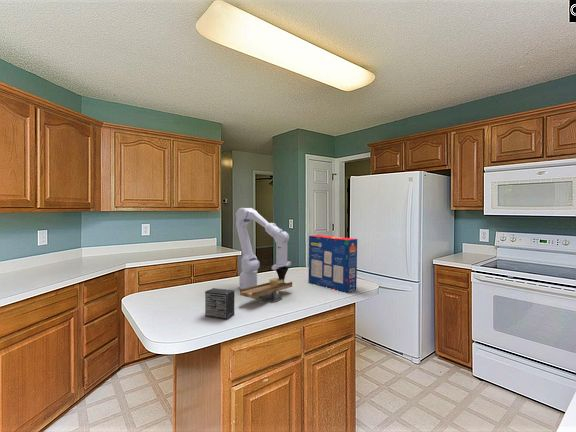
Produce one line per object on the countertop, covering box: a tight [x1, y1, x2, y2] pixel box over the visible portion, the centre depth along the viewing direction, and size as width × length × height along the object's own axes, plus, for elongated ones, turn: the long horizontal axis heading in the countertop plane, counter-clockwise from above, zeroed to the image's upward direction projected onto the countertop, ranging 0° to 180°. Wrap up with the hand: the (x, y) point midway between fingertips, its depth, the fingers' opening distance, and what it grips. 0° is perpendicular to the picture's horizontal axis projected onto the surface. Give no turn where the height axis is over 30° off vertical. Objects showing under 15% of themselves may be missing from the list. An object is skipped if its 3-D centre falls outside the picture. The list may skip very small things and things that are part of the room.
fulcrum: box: [253, 290, 283, 304], centre depth 147 cm, size 12×7×5 cm, turn 56°
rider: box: [268, 277, 285, 286], centre depth 153 cm, size 5×6×3 cm
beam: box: [239, 281, 293, 299], centre depth 147 cm, size 8×31×2 cm, turn 146°
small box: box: [204, 287, 236, 321], centre depth 124 cm, size 11×6×10 cm, turn 71°
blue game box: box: [307, 234, 358, 294], centre depth 170 cm, size 28×8×28 cm, turn 43°
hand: (281, 281), depth 156 cm, fingers closed
